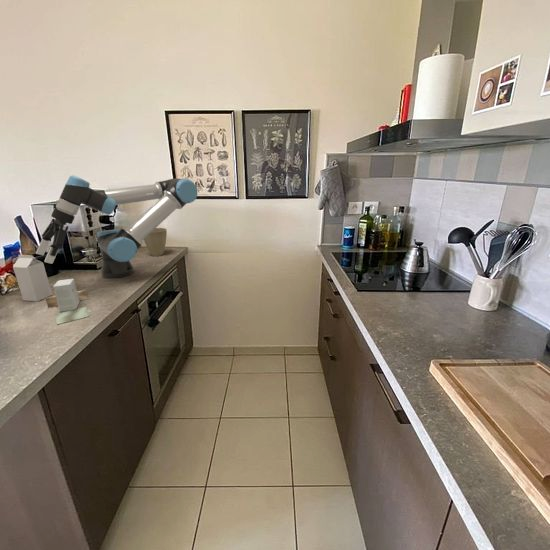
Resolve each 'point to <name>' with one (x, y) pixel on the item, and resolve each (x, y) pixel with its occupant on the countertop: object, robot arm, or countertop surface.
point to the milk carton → (31, 278)
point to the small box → (66, 295)
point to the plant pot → (156, 241)
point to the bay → (70, 314)
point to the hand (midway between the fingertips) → (43, 258)
